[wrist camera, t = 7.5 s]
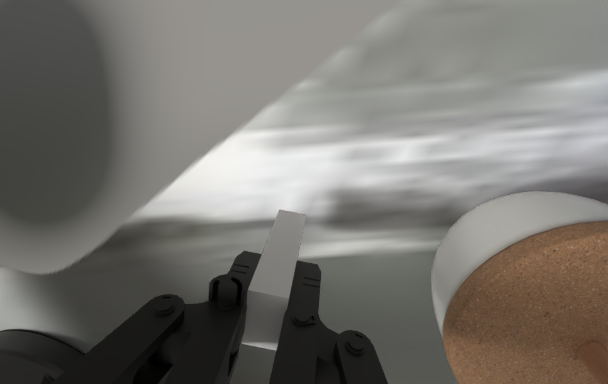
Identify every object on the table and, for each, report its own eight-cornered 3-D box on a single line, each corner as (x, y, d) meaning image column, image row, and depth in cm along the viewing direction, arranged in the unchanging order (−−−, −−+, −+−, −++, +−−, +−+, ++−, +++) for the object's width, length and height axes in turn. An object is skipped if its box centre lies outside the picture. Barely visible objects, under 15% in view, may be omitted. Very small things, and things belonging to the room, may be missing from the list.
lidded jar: (542, 124, 17) (760, 192, 8) (627, 258, 19) (864, 421, 10) (378, 231, 20) (405, 357, 12) (466, 331, 23) (543, 498, 14)
